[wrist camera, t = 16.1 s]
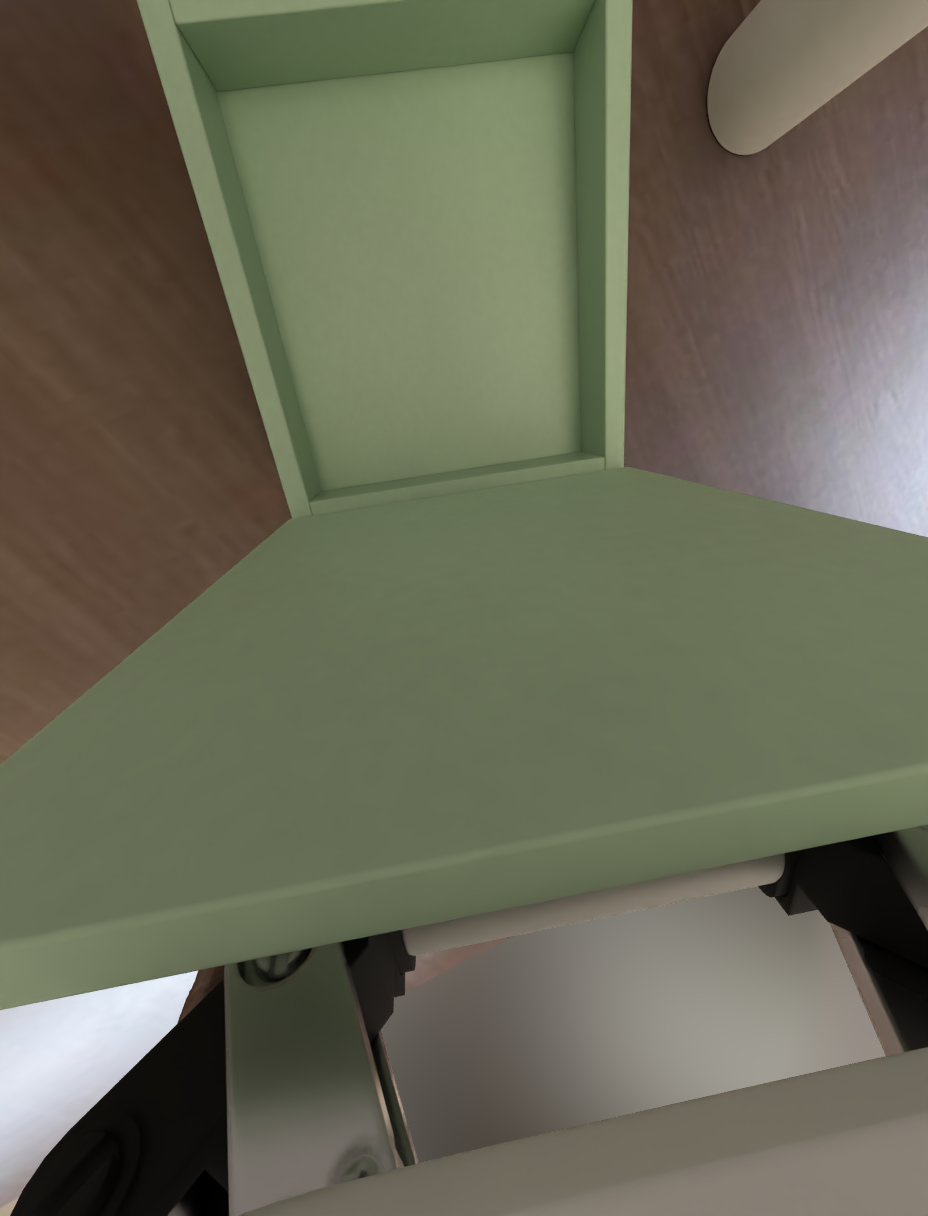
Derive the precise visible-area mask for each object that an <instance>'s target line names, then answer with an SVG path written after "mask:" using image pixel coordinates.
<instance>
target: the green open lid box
mask: <svg viewBox="0 0 928 1216" xmlns="http://www.w3.org/2000/svg"><path fill="white" fill-rule="evenodd" d="M137 3H138V6H139V10H140V13H141V16H142V20H143V23H144V26H145V30H146V33H147V36H148V40H149V43H150V46H151V50H152V53H153V56H154V60H155V63H156V66H157V70H158V73H159V76H160V80H161V83H162V86H163V90H164V93H165V96H166V100H167V103H168V106H169V110H170V113H171V116H172V120H173V123H174V126H175V130H176V133H177V136H178V140H179V143H180V146H181V150H182V153H183V156H184V160H185V163H186V166H187V170H188V173H189V176H190V180H191V183H192V186H193V190H194V193H195V196H196V200H197V203H198V206H199V210H200V213H201V216H202V220H203V223H204V226H205V230H206V233H207V236H208V240H209V243H210V246H211V250H212V253H213V256H214V260H215V263H216V266H217V270H218V273H219V276H220V280H221V283H222V286H223V290H224V293H225V296H226V300H227V303H228V306H229V310H230V313H231V316H232V320H233V323H234V326H235V330H236V333H237V336H238V340H239V343H240V346H241V350H242V353H243V356H244V360H245V363H246V366H247V370H248V373H249V377H250V380H251V383H252V387H253V390H254V393H255V397H256V400H257V403H258V407H259V410H260V413H261V417H262V420H263V423H264V427H265V430H266V433H267V437H268V440H269V443H270V447H271V450H272V453H273V457H274V460H275V463H276V467H277V470H278V473H279V477H280V480H281V483H282V487H283V490H284V493H285V497H286V500H287V503H288V507H289V510H290V513H291V517H292V519H295V518H301V517H308V516H314V515H321V514H327V513H334V512H340V511H346V510H353V509H359V508H366V507H372V506H379V505H385V504H391V503H398V502H404V501H411V500H417V499H423V498H430V497H436V496H443V495H449V494H456V493H462V492H468V491H475V490H481V489H488V488H494V487H501V486H507V485H513V484H520V483H526V482H533V481H539V480H546V479H552V478H558V477H565V476H571V475H578V474H584V473H591V472H597V471H603V470H610V469H616V468H623V467H624V425H625V371H626V318H627V265H628V212H629V158H630V105H631V52H632V0H137Z"/></svg>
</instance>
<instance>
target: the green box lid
mask: <svg viewBox="0 0 928 1216" xmlns="http://www.w3.org/2000/svg"><path fill="white" fill-rule="evenodd" d="M923 825H928V537H924V536H919V535H915V534H911V533H907V532H902V531H898V530H894V529H890V528H886V527H881V526H877V525H873V524H869V523H864V522H860V521H856V520H852V519H848V518H843V517H839V516H835V515H831V514H826V513H822V512H818V511H814V510H810V509H805V508H801V507H797V506H793V505H788V504H784V503H780V502H776V501H771V500H767V499H763V498H759V497H755V496H750V495H746V494H742V493H738V492H733V491H729V490H725V489H721V488H717V487H712V486H708V485H704V484H700V483H695V482H691V481H687V480H683V479H679V478H674V477H670V476H666V475H662V474H657V473H653V472H649V471H645V470H640V469H636V468H632V467H623V468H616V469H610V470H603V471H597V472H591V473H584V474H578V475H571V476H565V477H558V478H552V479H546V480H539V481H533V482H526V483H520V484H513V485H507V486H501V487H494V488H488V489H481V490H475V491H468V492H462V493H456V494H449V495H443V496H436V497H430V498H423V499H417V500H411V501H404V502H398V503H391V504H385V505H379V506H372V507H366V508H359V509H353V510H346V511H340V512H334V513H327V514H321V515H314V516H308V517H301V518H295V519H289V520H288V521H287V522H286V523H284V524H283V525H282V526H281V527H280V528H279V529H277V530H276V531H275V532H274V533H273V534H271V535H270V536H269V537H268V538H267V539H266V540H264V541H263V542H262V543H261V544H260V545H259V546H257V547H256V548H255V549H254V550H253V551H251V552H250V553H249V554H248V555H247V556H246V557H244V558H243V559H242V560H241V561H240V562H238V563H237V564H236V565H235V566H234V567H233V568H231V569H230V570H229V571H228V572H227V573H226V574H224V575H223V576H222V577H221V578H220V579H218V580H217V581H216V582H215V583H214V584H213V585H211V586H210V587H209V588H208V589H207V590H205V591H204V592H203V593H202V594H201V595H200V596H198V597H197V598H196V599H195V600H194V601H193V602H191V603H190V604H189V605H188V606H187V607H185V608H184V609H183V610H182V611H181V612H180V613H178V614H177V615H176V616H175V617H174V618H172V619H171V620H170V621H169V622H168V623H167V624H165V625H164V626H163V627H162V628H161V629H160V630H158V631H157V632H156V633H155V634H154V635H152V636H151V637H150V638H149V639H148V640H147V641H145V642H144V643H143V644H142V645H141V646H139V647H138V648H137V649H136V650H135V651H134V652H132V653H131V654H130V655H129V656H128V657H126V658H125V659H124V660H123V661H122V662H121V663H119V664H118V665H117V666H116V667H115V668H114V669H112V670H111V671H110V672H109V673H108V674H106V675H105V676H104V677H103V678H102V679H101V680H99V681H98V682H97V683H96V684H95V685H93V686H92V687H91V688H90V689H89V690H88V691H86V692H85V693H84V694H83V695H82V696H81V697H79V698H78V699H77V700H76V701H75V702H73V703H72V704H71V705H70V706H69V707H68V708H66V709H65V710H64V711H63V712H62V713H60V714H59V715H58V716H57V717H56V718H55V719H53V720H52V721H51V722H50V723H49V724H48V725H46V726H45V727H44V728H43V729H42V730H40V731H39V732H38V733H37V734H36V735H35V736H33V737H32V738H31V739H30V740H29V741H27V742H26V743H25V744H24V745H23V746H22V747H20V748H19V749H18V750H17V751H16V752H15V753H13V754H12V755H11V756H10V757H9V758H7V759H6V760H5V761H4V762H3V763H2V764H0V1010H3V1009H8V1008H13V1007H18V1006H23V1005H28V1004H33V1003H38V1002H43V1001H48V1000H53V999H58V998H63V997H68V996H73V995H78V994H83V993H88V992H93V991H98V990H103V989H108V988H113V987H118V986H123V985H128V984H133V983H138V982H143V981H148V980H153V979H158V978H163V977H168V976H173V975H178V974H183V973H188V972H193V971H198V970H203V969H208V968H213V967H218V966H223V965H228V964H233V963H238V962H243V961H248V960H253V959H258V958H263V957H268V956H273V955H278V954H283V953H288V952H293V951H298V950H303V949H308V948H313V947H318V946H323V945H328V944H333V943H338V942H343V941H348V940H353V939H358V938H363V937H368V936H373V935H378V934H383V933H388V932H393V931H398V930H401V934H402V939H403V942H404V945H405V948H406V951H407V952H408V954H409V955H412V956H416V955H421V954H426V953H431V952H436V951H441V950H445V949H450V948H455V947H460V946H465V945H470V944H475V943H480V942H485V941H490V940H495V939H500V938H505V937H509V936H514V935H519V934H524V933H529V932H534V931H539V930H544V929H549V928H554V927H559V926H564V925H569V924H573V923H578V922H583V921H588V920H593V919H598V918H603V917H608V916H612V915H618V914H623V913H627V912H633V911H638V910H642V909H647V908H652V907H657V906H662V905H667V904H672V903H677V902H682V901H686V900H692V899H696V898H701V897H706V896H711V895H716V894H721V893H726V892H731V891H736V890H741V889H746V888H750V887H756V886H761V885H766V884H771V883H774V882H776V881H777V880H778V879H779V878H780V877H781V876H782V874H783V871H784V867H785V854H784V853H788V852H793V851H798V850H803V849H808V848H813V847H818V846H823V845H828V844H833V843H838V842H843V841H848V840H853V839H858V838H863V837H868V836H873V835H878V834H883V833H888V832H893V831H898V830H903V829H908V828H913V827H918V826H923Z"/></svg>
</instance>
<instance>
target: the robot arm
mask: <svg viewBox="0 0 928 1216" xmlns="http://www.w3.org/2000/svg"><path fill="white" fill-rule="evenodd" d="M784 854H785V867H784V871H783V874H782V876H781V877H780V878H779V879H778V880H777V881H776V882H774V883H771V884H766V885H761V886H758V887H759V888H760V889H761V890H762V891H763V893H765V894H766V895H767V896H769V897H775V898H776V900H777V901H778V902H779V904H780V905H781V906H782V908H783V909H784V910H785V912H786V913H787V914H788V916H789V915H794V914H799V913H804V912H808V911H813V910H817V909H818V910H819V911H820V913H821V914H822V915H823V916H824V918H825V919H826V920H827V921H828V922H830V924H831V927H832V930H833V932H834V934H835V937H836V939H837V941H838V944H839V946H840V948H841V951H842V953H843V956H844V958H845V960H846V963H847V965H848V967H849V970H850V972H851V975H852V977H853V979H854V982H855V984H856V986H857V989H858V991H859V993H860V996H861V998H862V1000H863V1003H864V1005H865V1008H866V1010H867V1012H868V1015H869V1017H870V1019H871V1022H872V1024H873V1026H874V1029H875V1031H876V1033H877V1036H878V1038H879V1041H880V1043H881V1045H882V1048H883V1050H884V1052H885V1055H886V1057H881V1058H877V1059H872V1060H867V1061H863V1062H858V1063H854V1064H849V1065H845V1066H840V1067H836V1068H831V1069H827V1070H823V1071H818V1072H814V1073H809V1074H805V1075H800V1076H796V1077H791V1078H787V1079H782V1080H778V1081H773V1082H769V1083H764V1084H760V1085H756V1086H751V1087H747V1088H742V1089H738V1090H733V1091H729V1092H724V1093H720V1094H716V1095H712V1096H707V1097H703V1098H698V1099H693V1100H689V1101H685V1102H680V1103H676V1104H671V1105H667V1106H663V1107H658V1108H653V1109H649V1110H645V1111H640V1112H636V1113H632V1114H627V1115H623V1116H619V1117H614V1118H610V1119H606V1120H601V1121H597V1122H593V1123H589V1124H584V1125H580V1126H576V1127H571V1128H567V1129H562V1130H558V1131H554V1132H549V1133H546V1134H541V1135H536V1136H532V1137H528V1138H523V1139H519V1140H515V1141H510V1142H506V1143H502V1144H497V1145H493V1146H489V1147H485V1148H480V1149H476V1150H471V1151H467V1152H463V1153H458V1154H454V1155H450V1156H446V1157H442V1158H438V1159H434V1160H430V1161H426V1162H422V1163H418V1160H417V1156H416V1153H415V1149H414V1146H413V1142H412V1139H411V1135H410V1132H409V1128H408V1125H407V1121H406V1118H405V1114H404V1111H403V1107H402V1104H401V1100H400V1097H399V1093H398V1090H397V1086H396V1083H395V1079H394V1076H393V1072H392V1069H391V1065H390V1062H389V1058H388V1055H387V1051H386V1048H385V1044H384V1041H383V1037H382V1034H381V1029H382V1027H383V1025H384V1024H385V1023H386V1022H387V1020H388V1019H389V1017H390V1016H391V1015H392V1013H393V1005H394V1004H393V1003H394V997H397V996H402V995H405V972H409V971H413V970H415V963H416V956H412V955H409V954H408V952H407V951H406V948H405V945H404V942H403V939H402V934H401V930H398V931H393V932H388V933H383V934H378V935H373V936H368V937H363V938H358V939H353V940H348V941H343V942H338V943H333V944H328V945H323V946H318V947H313V948H308V949H303V950H298V951H293V952H288V953H283V954H278V955H273V956H268V957H263V958H258V959H253V960H248V961H243V962H238V963H233V964H228V965H225V968H224V979H223V980H222V981H221V982H220V983H219V984H218V985H217V986H216V987H215V988H214V989H213V990H212V991H210V992H209V993H208V994H207V995H206V996H205V997H204V998H203V999H202V1000H201V1001H200V1002H199V1003H198V1004H197V1005H196V1006H195V1007H194V1008H193V1009H192V1010H191V1011H190V1012H189V1013H188V1014H187V1015H186V1016H185V1017H184V1018H183V1019H182V1020H181V1021H180V1022H179V1023H178V1024H177V1025H176V1026H175V1027H174V1028H173V1029H172V1030H171V1031H170V1032H169V1033H168V1034H167V1035H166V1036H165V1037H164V1038H163V1039H162V1040H161V1041H160V1042H159V1043H158V1044H157V1045H156V1046H155V1047H154V1048H153V1049H151V1050H150V1051H149V1052H148V1053H147V1054H146V1055H145V1056H144V1057H143V1058H142V1059H141V1060H140V1061H139V1062H138V1063H137V1064H136V1065H135V1066H134V1067H133V1068H132V1069H131V1070H130V1071H129V1072H128V1073H127V1074H126V1075H125V1076H124V1077H123V1078H122V1079H121V1080H120V1081H119V1082H118V1083H117V1084H116V1085H115V1086H114V1087H113V1088H112V1089H111V1090H110V1091H109V1092H108V1093H107V1094H106V1095H105V1096H104V1097H103V1098H102V1099H101V1100H100V1101H99V1102H98V1103H97V1104H96V1105H95V1106H94V1107H92V1108H91V1109H90V1110H89V1111H88V1112H87V1113H86V1114H85V1115H84V1116H83V1117H82V1118H81V1119H80V1120H79V1121H78V1122H77V1123H76V1124H75V1125H74V1126H73V1127H72V1128H71V1129H70V1130H69V1131H68V1132H67V1133H66V1134H65V1136H64V1137H63V1138H62V1139H61V1140H60V1141H59V1142H58V1144H57V1145H56V1146H55V1147H54V1148H53V1149H52V1150H51V1151H50V1153H49V1154H48V1155H47V1156H46V1157H45V1158H44V1160H43V1161H42V1163H41V1164H40V1166H39V1167H38V1169H37V1170H36V1172H35V1173H34V1175H33V1176H32V1178H31V1179H30V1180H29V1182H28V1183H27V1185H26V1186H25V1188H24V1189H23V1191H22V1193H21V1195H20V1197H19V1199H18V1201H17V1203H16V1205H15V1207H14V1209H13V1211H12V1213H11V1215H10V1216H928V825H923V826H918V827H913V828H908V829H903V830H898V831H893V832H888V833H883V834H878V835H873V836H868V837H863V838H858V839H853V840H848V841H843V842H838V843H833V844H828V845H823V846H818V847H813V848H808V849H803V850H798V851H793V852H788V853H784Z"/></svg>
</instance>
